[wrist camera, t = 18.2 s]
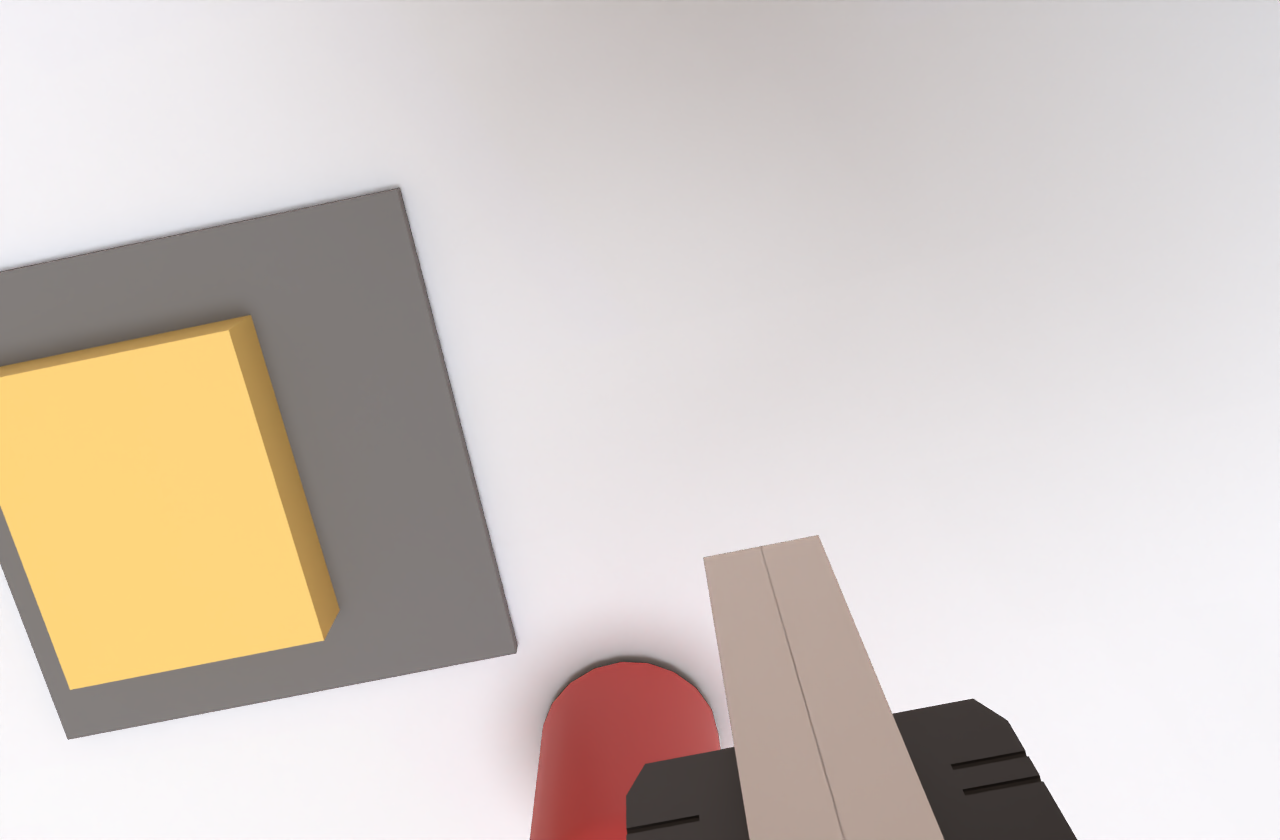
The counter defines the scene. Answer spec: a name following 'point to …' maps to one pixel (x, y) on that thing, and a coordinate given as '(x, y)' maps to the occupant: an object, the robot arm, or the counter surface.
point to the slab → (160, 504)
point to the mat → (297, 443)
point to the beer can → (612, 746)
